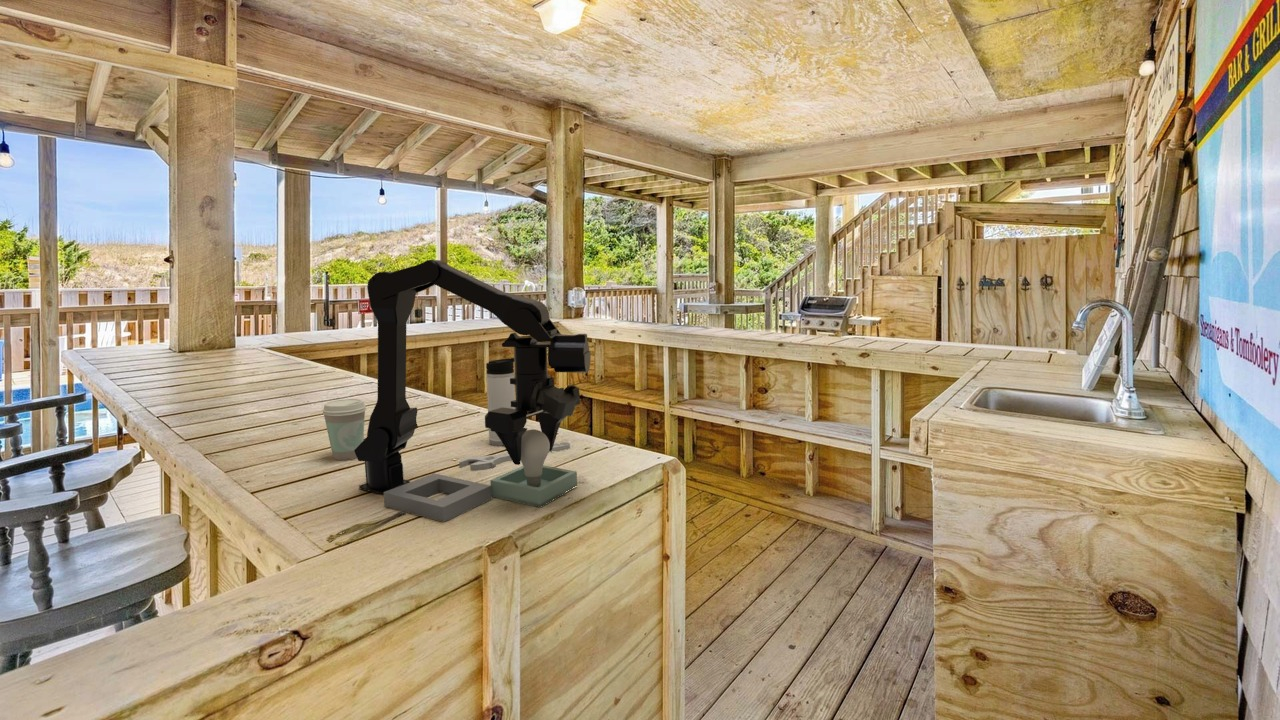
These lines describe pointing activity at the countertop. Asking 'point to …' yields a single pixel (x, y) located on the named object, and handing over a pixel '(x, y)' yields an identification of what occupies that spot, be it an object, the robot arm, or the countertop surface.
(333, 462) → the countertop surface
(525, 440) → the lightbulb
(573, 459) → the countertop surface
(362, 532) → the tongs
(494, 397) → the travel mug
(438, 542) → the countertop surface
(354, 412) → the coffee cup
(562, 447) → the adjustable wrench
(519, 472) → the parts tray
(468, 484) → the socket board
